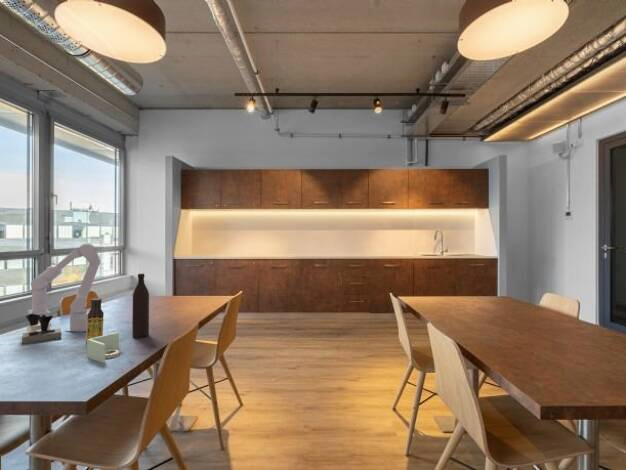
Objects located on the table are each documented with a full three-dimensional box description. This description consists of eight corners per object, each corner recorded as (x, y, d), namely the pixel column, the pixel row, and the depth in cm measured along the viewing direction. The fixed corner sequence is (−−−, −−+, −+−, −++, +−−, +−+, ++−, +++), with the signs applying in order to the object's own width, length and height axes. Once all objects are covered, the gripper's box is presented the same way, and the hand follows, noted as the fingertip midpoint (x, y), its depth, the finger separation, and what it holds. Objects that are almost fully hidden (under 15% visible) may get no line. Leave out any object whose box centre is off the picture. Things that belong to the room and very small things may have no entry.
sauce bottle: (85, 346, 148) (85, 300, 148) (86, 342, 153) (87, 298, 153) (102, 344, 151) (103, 299, 151) (103, 340, 156) (104, 297, 156)
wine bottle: (151, 336, 163) (151, 273, 164) (135, 339, 158) (136, 274, 158) (145, 333, 168) (145, 272, 168) (130, 336, 163) (130, 273, 163)
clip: (47, 331, 171) (47, 322, 171) (51, 331, 170) (51, 322, 170) (26, 336, 162) (26, 326, 162) (30, 336, 161) (30, 327, 161)
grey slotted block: (60, 334, 165) (60, 328, 165) (61, 338, 159) (61, 332, 159) (22, 339, 156) (22, 333, 156) (21, 344, 150) (21, 337, 150)
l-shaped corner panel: (102, 364, 129) (102, 344, 129) (86, 358, 135) (87, 339, 135) (133, 355, 139) (133, 336, 139) (117, 349, 146) (117, 332, 146)
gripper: (20, 302, 165) (20, 330, 165) (39, 304, 160) (39, 333, 160) (37, 299, 172) (36, 326, 172) (55, 301, 166) (55, 329, 166)
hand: (39, 329), depth 166 cm, fingers open, 7 cm apart
